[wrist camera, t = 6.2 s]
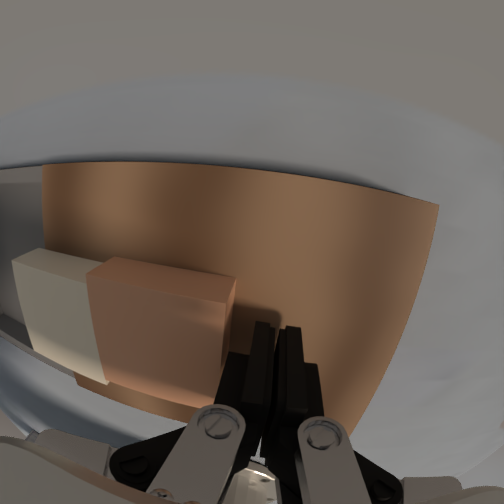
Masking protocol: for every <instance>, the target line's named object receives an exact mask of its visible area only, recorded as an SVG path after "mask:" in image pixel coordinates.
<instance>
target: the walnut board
mask: <svg viewBox="0 0 504 504" xmlns="http://www.w3.org/2000/svg"><path fill="white" fill-rule="evenodd" d="M438 210H439V205H437V204H434V203H431V202H427V201H423V200H420V199H416V198H412V197H409V196H405V195H401V194H396V193H392V192H388V191H383V190H379V189H374V188H369V187H365V186H360V185H355V184H349V183H344V182H339V181H333V180H328V179H322V178H316V177H309V176H303V175H296V174H289V173H282V172H274V171H266V170H258V169H249V168H239V167H229V166H217V165H205V164H189V163H170V162H134V161H107V162H74V163H59V164H46V165H43V166H42V215H43V231H44V243H45V249H46V250H50V251H54V252H59V253H63V254H67V255H71V256H76V257H80V258H85V259H89V260H94V261H98V262H103V263H104V262H106V261H107V260H109V259H111V258H112V257H114V256H115V257H121V258H126V259H131V260H136V261H142V262H147V263H153V264H158V265H164V266H169V267H175V268H181V269H187V270H192V271H198V272H204V273H210V274H216V275H222V276H229V277H235V278H236V286H235V295H234V304H233V313H232V323H231V332H230V342H229V351H230V352H235V353H241V354H247V355H250V350H251V344H252V339H253V333H254V327H255V322H256V321H260V322H267V323H270V327H274V328H275V346H274V351H275V347H276V342H277V338H278V333H279V329H280V328H281V329H285V327H286V325H288V326H295V327H301V332H302V342H303V353H304V362H307V363H316V364H317V365H318V370H319V377H320V384H321V392H322V399H323V407H324V416H325V417H328V418H332V419H334V420H336V421H337V422H339V423H340V424H341V425H342V426H343V427H344V428H345V430H346V432H347V435H348V437H349V436H350V435H351V433H352V432H353V430H354V428H355V427H356V425H357V423H358V422H359V420H360V418H361V417H362V415H363V413H364V412H365V410H366V408H367V406H368V405H369V403H370V401H371V399H372V397H373V395H374V393H375V392H376V390H377V388H378V386H379V384H380V382H381V380H382V378H383V376H384V374H385V372H386V370H387V368H388V365H389V363H390V361H391V359H392V357H393V355H394V352H395V350H396V348H397V345H398V343H399V341H400V338H401V336H402V333H403V331H404V328H405V326H406V323H407V321H408V318H409V315H410V313H411V310H412V307H413V304H414V301H415V298H416V295H417V292H418V289H419V286H420V283H421V280H422V276H423V273H424V270H425V266H426V262H427V259H428V255H429V251H430V247H431V243H432V239H433V234H434V230H435V225H436V220H437V215H438ZM229 351H228V352H229ZM73 373H74V376H75V379H76V381H77V384H78V385H79V386H81V387H83V388H86V389H88V390H90V391H92V392H95V393H97V394H99V395H102V396H104V397H107V398H109V399H112V400H114V401H117V402H120V403H123V404H125V405H128V406H131V407H134V408H137V409H140V410H143V411H146V412H149V413H152V414H156V415H159V416H162V417H166V418H169V419H173V420H177V421H181V422H185V423H189V421H190V419H191V418H192V416H193V414H194V413H195V412H196V411H197V410H198V409H200V408H196V407H192V406H188V405H184V404H180V403H176V402H172V401H168V400H165V399H161V398H158V397H154V396H151V395H148V394H145V393H142V392H138V391H135V390H132V389H129V388H127V387H124V386H121V385H118V384H115V383H113V382H109V383H108V384H107V385H105V384H102V383H100V382H98V381H95V380H93V379H90V378H88V377H86V376H84V375H81V374H79V373H77V372H75V371H73Z"/></svg>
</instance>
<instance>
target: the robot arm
mask: <svg viewBox="0 0 504 504" xmlns="http://www.w3.org/2000/svg"><path fill="white" fill-rule="evenodd" d="M274 346H275V328H274V327H270V323H267V322H260V321H256V322H255V327H254V333H253V339H252V344H251V350H250V355H247V354H241V353H235V352H230V351H229V352H228V355H227V359H226V362H225V365H224V369H223V372H222V376H221V379H220V383H219V386H218V390H217V393H216V396H215V400H214V403H213V404H210V405H207V406H203V407H202V408H200V409H198V410H197V411H196V412H195V413H194V414H193V416H192V418H191V419H190V421H189V423H188V424H187V426H185V427H182V428H180V429H177V430H174V431H171V432H168V433H166V434H163V435H160V436H157V437H154V438H150V439H147V440H144V441H141V442H137V443H134V444H131V445H127V446H124V447H122V448H114V447H111V446H110V444H107V443H102V442H98V441H94V440H90V439H86V438H83V437H79V436H76V435H72V434H69V433H66V432H63V431H60V430H55V429H48V430H44V431H42V432H41V433H40V434H39V435H38V436H37V438H36V440H35V443H32V442H29V441H26V440H23V439H19V438H14V437H8V436H0V504H267V503H271V502H273V501H275V500H277V503H278V504H504V488H502V487H497V486H479V487H472V488H467V489H463V490H462V486H461V483H460V482H459V481H458V479H456V478H454V477H451V476H443V477H404V478H403V479H402V480H399V479H397V478H396V477H395V476H394V475H392V474H390V473H389V472H387V471H385V470H384V469H382V468H381V467H379V466H377V465H376V464H374V463H373V462H371V461H370V460H368V459H366V458H365V457H363V456H362V455H360V454H359V453H357V452H356V451H354V450H353V448H352V446H351V443H350V440H349V437H348V435H347V432H346V430H345V428H344V427H343V426H342V425H341V424H340V423H339V422H337V421H336V420H334V419H332V418H328V417H325V416H324V407H323V399H322V392H321V384H320V377H319V370H318V365H317V364H316V363H307V362H304V353H303V342H302V332H301V327H295V326H288V325H286V327H285V329H281V328H280V329H279V333H278V338H277V342H276V347H275V351H274ZM261 436H262V439H261ZM260 439H261V448H260V457H262V458H265V466H268V468H266V467H264V466H262V465H260V464H257V463H254V462H251V461H250V458H251V456H254V457H255V455H256V452H257V449H258V446H259V442H260Z"/></svg>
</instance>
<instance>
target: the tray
mask: <svg viewBox="0 0 504 504" xmlns="http://www.w3.org/2000/svg"><path fill="white" fill-rule="evenodd" d="M42 166H43V165H41V166H29V167H19V168H10V169H2V170H0V336H1V337H3V338H4V339H6V340H7V341H9V342H10V343H12V344H14V345H15V346H17V347H18V348H20V349H22V350H23V351H25V352H27V353H28V354H30V355H32V356H33V357H35V358H37V359H39V360H41V361H42V362H44V363H46V364H48V365H50V366H52V367H54V368H56V369H58V370H59V371H61V372H64V373H66V374H68V375H70V376H72V377H74V378H75V376H74V373H73V370H71V369H69V368H66V367H64V366H62V365H60V364H58V363H56V362H54V361H53V360H51V359H49V358H47V357H45V356H43V355H41V354H39V353H38V352H36V351H34V349H33V346H32V343H31V340H30V337H29V334H28V331H27V327H26V324H25V321H24V317H23V313H22V310H21V306H20V301H19V297H18V293H17V288H16V283H15V278H14V273H13V267H12V261H11V260H13V259H15V258H17V257H19V256H21V255H24V254H26V253H28V252H30V251H33V250H35V249H37V248H42V249H45V243H44V231H43V215H42Z"/></svg>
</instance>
